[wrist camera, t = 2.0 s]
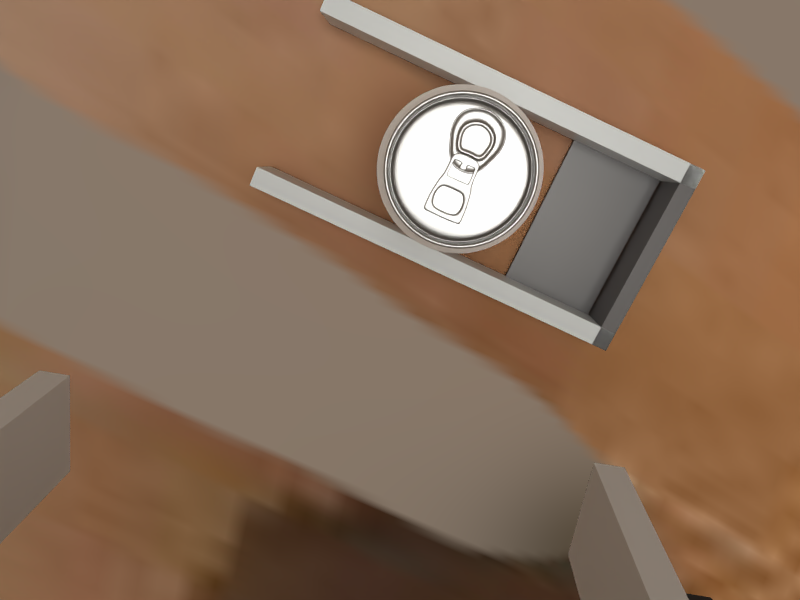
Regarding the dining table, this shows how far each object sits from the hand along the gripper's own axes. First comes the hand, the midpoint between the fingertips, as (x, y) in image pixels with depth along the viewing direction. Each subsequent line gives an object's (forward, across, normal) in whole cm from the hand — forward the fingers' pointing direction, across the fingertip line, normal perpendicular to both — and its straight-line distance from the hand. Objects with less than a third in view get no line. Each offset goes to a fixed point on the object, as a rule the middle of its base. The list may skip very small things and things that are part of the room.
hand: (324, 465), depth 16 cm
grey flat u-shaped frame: (+22, -4, -5) cm, 23 cm away
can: (+22, -3, -5) cm, 23 cm away
